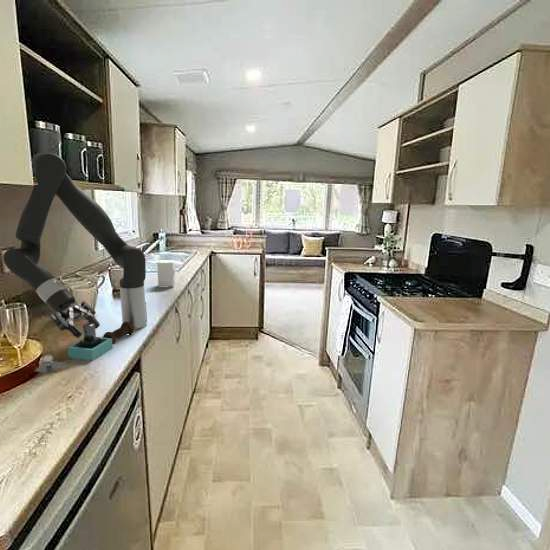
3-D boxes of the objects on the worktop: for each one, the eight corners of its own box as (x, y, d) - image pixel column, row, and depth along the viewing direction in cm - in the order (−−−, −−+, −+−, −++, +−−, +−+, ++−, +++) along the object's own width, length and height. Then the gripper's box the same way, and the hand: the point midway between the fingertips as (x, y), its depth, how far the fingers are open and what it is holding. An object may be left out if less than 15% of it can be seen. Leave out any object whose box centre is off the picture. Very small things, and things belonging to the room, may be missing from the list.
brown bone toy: (99, 352, 132) (128, 336, 146) (109, 348, 130) (136, 332, 144) (91, 338, 131) (120, 323, 145) (101, 333, 130) (129, 319, 144)
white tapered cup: (173, 287, 218) (172, 262, 215) (158, 287, 217) (156, 262, 213) (175, 283, 227) (174, 259, 224) (160, 284, 225) (159, 260, 222)
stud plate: (48, 364, 118) (46, 349, 117) (67, 367, 116) (66, 351, 115) (30, 375, 111) (28, 358, 110) (50, 377, 110) (48, 361, 109)
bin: (90, 349, 130) (89, 336, 129) (113, 352, 128) (111, 338, 127) (69, 361, 120) (67, 347, 119) (93, 364, 118) (92, 350, 117)
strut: (90, 350, 126) (87, 322, 124) (101, 352, 125) (98, 323, 123) (80, 356, 122) (78, 326, 120) (92, 357, 121) (89, 327, 119)
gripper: (44, 293, 114) (80, 332, 114) (77, 283, 128) (109, 317, 128) (31, 308, 116) (67, 346, 116) (65, 297, 130) (97, 330, 130)
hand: (89, 331), depth 122 cm, fingers open, 8 cm apart
